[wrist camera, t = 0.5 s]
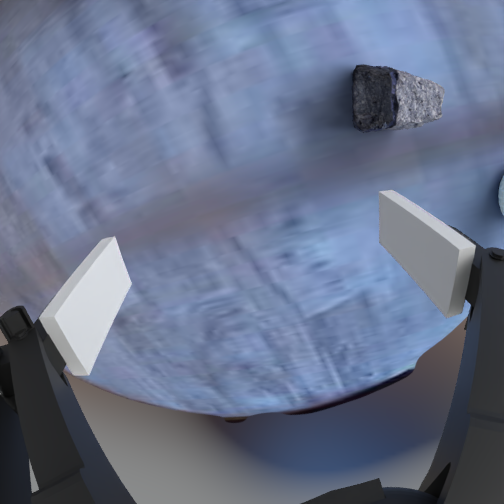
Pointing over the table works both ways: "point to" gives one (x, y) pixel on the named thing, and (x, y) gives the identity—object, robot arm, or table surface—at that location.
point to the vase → (501, 195)
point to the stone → (393, 99)
